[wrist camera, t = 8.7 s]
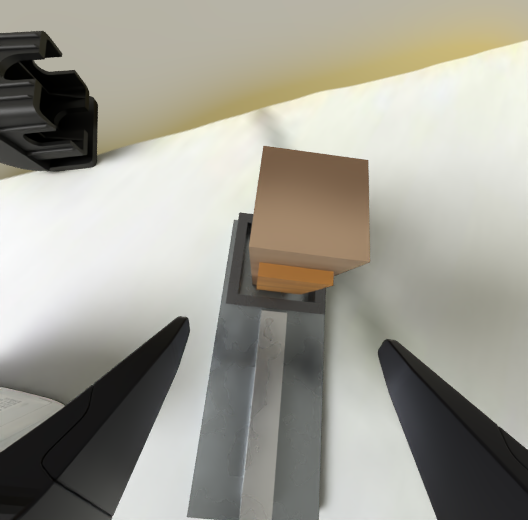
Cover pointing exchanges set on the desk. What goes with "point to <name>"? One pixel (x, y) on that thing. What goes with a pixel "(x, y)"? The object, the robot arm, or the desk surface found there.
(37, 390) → the desk surface
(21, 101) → the end cap
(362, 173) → the brown tall block
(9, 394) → the photo printer
